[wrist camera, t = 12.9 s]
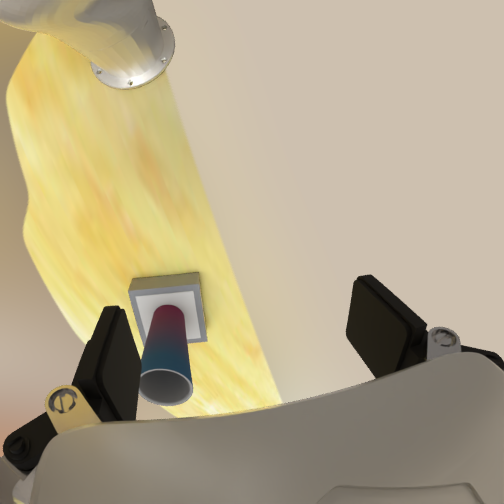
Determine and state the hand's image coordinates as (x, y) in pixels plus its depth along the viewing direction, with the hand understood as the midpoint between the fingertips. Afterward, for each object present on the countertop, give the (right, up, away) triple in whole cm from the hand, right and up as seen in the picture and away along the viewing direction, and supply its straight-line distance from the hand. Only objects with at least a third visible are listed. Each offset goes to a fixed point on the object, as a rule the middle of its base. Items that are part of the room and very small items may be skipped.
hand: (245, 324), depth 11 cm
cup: (-13, -7, +33) cm, 36 cm away
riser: (-13, -6, +36) cm, 39 cm away
